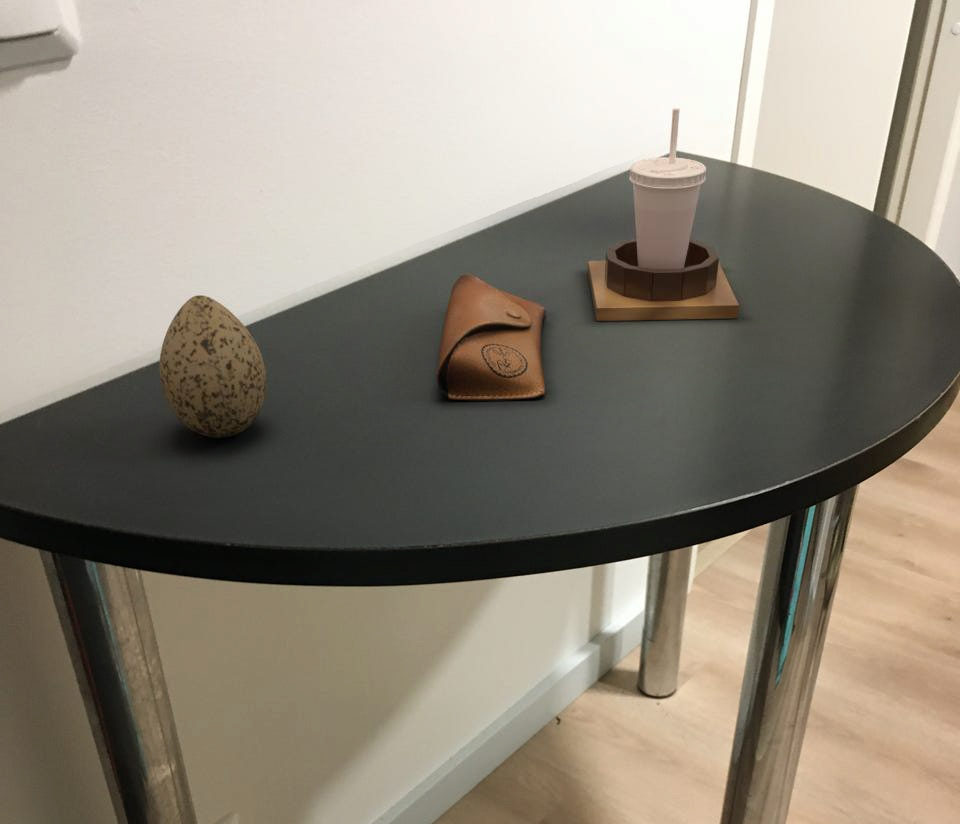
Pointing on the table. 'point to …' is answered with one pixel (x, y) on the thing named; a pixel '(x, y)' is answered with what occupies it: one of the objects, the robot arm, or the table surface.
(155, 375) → the table surface
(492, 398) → the sunglasses case
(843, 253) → the table surface
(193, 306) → the decorative egg
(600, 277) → the dock pad
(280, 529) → the table surface
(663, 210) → the smoothie
